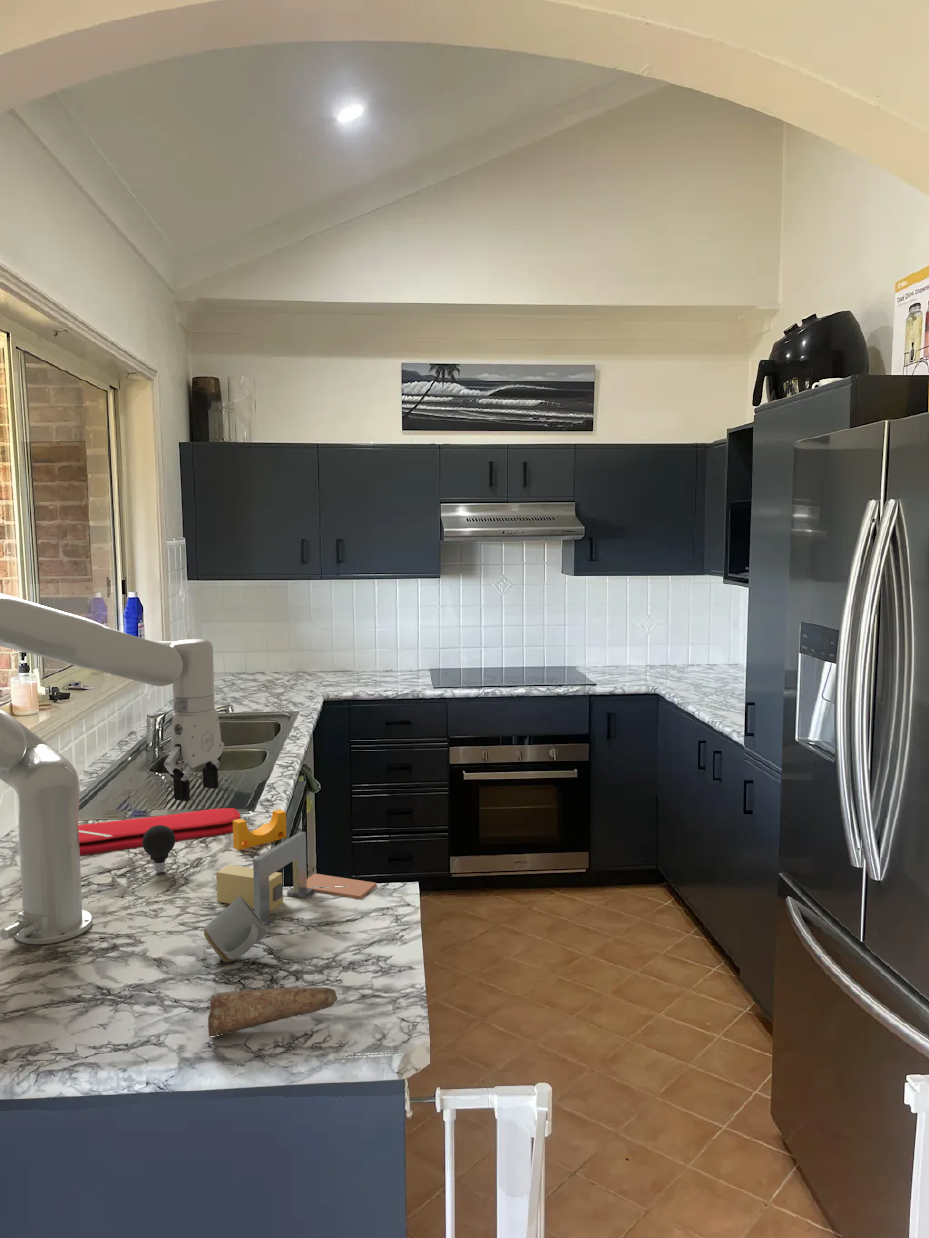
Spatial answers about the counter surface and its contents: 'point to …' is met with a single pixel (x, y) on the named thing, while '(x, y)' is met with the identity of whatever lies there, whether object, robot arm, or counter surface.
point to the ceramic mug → (235, 930)
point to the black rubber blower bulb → (159, 845)
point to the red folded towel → (133, 830)
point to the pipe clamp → (259, 831)
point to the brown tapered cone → (264, 1007)
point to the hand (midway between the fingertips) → (196, 793)
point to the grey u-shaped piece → (273, 862)
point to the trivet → (353, 890)
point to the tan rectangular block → (246, 886)
